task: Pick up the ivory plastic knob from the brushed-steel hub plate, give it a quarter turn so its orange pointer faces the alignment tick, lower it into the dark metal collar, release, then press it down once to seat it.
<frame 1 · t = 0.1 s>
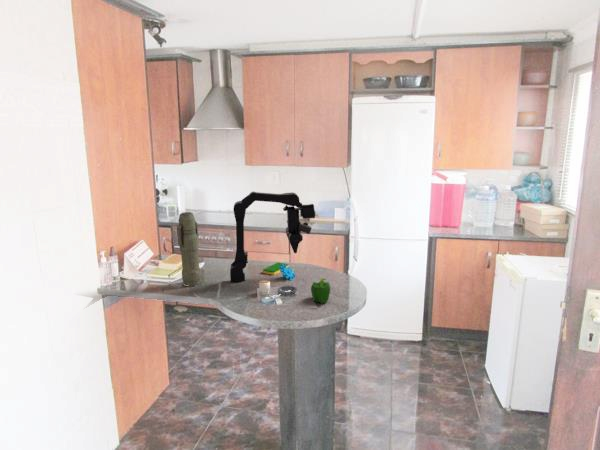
hand: (294, 250, 207), 15 cm above the countertop, tool pointing down, fingers open, 9 cm apart
knob: (265, 293, 189), point 1 cm above the countertop, touching hub plate
bell pepper: (321, 301, 182), on the countertop
gear: (288, 280, 210), on the countertop
dish sponge: (276, 271, 224), on the countertop
hub plate: (277, 294, 190), on the countertop
thermos: (192, 283, 208), on the countertop
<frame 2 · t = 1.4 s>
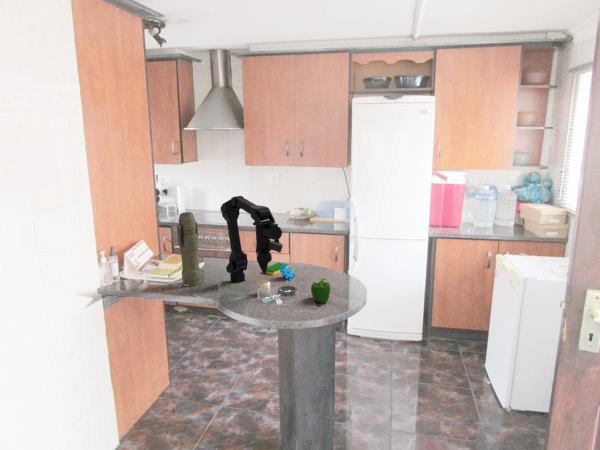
hand: (264, 270, 187), 12 cm above the countertop, tool pointing down, fingers open, 9 cm apart
nothing on the countertop moved.
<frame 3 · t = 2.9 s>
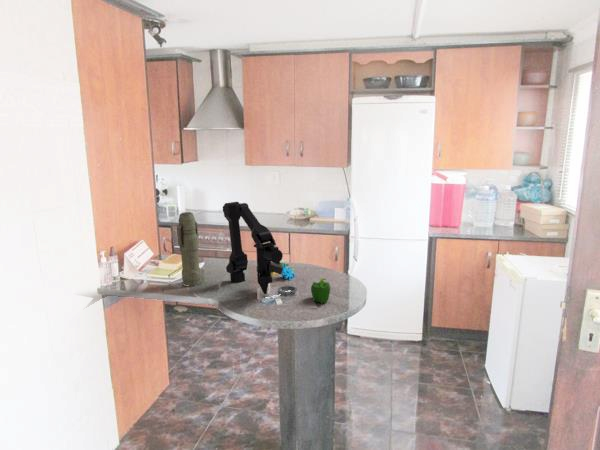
hand: (264, 291, 189), 2 cm above the countertop, tool pointing down, fingers closed on knob, 5 cm apart
knob: (265, 293, 189), point 1 cm above the countertop, touching gripper, hub plate
everything else where it was.
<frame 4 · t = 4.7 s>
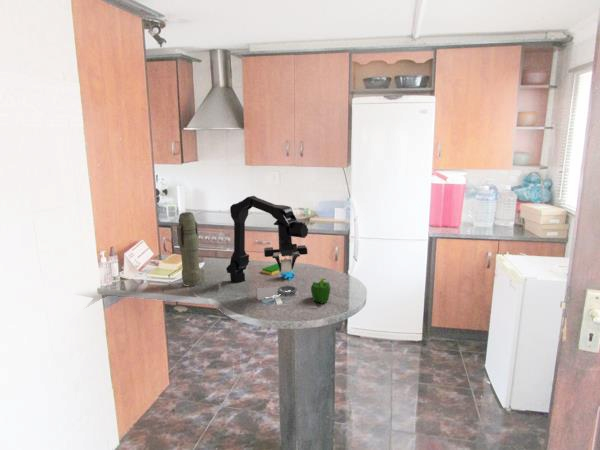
hand: (286, 269, 188), 12 cm above the countertop, tool pointing down, fingers closed on knob, 5 cm apart
knob: (286, 271, 188), point 11 cm above the countertop, touching gripper
everything else where it was.
when the fingers open (3 cm above the countertop, at t = 6.5 s): knob drops 1 cm, resting on hub plate.
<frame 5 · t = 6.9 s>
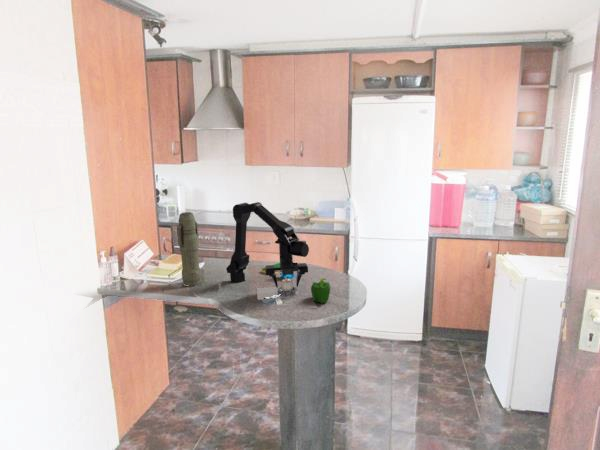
hand: (287, 287, 190), 3 cm above the countertop, tool pointing down, fingers open, 9 cm apart
knob: (287, 291, 190), point 1 cm above the countertop, touching hub plate
everything else where it was.
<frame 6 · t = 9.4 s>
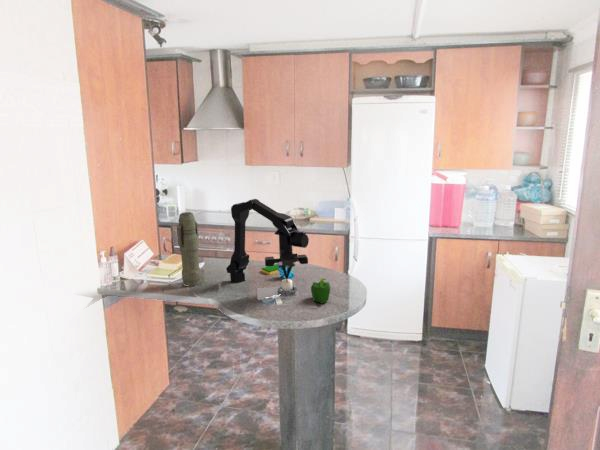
hand: (286, 278, 189), 7 cm above the countertop, tool pointing down, fingers closed
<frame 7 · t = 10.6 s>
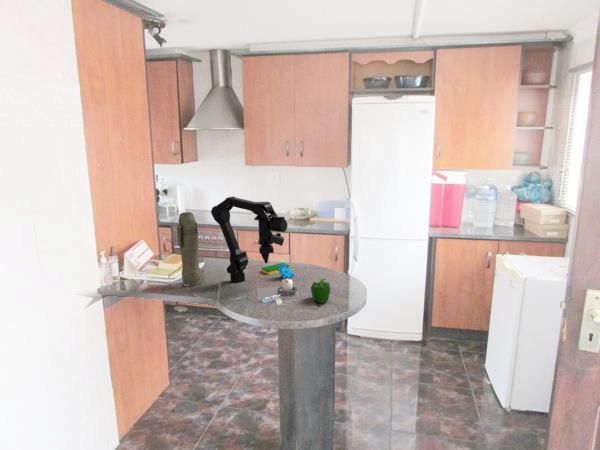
hand: (266, 263, 196), 12 cm above the countertop, tool pointing down, fingers closed
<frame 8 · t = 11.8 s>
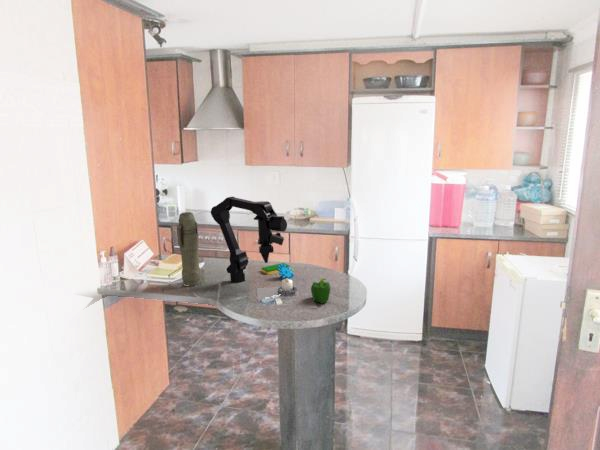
hand: (266, 262, 196), 13 cm above the countertop, tool pointing down, fingers closed
at the end: knob 0.0 cm from the target spot on the hub plate, point 1.3 cm above the hub plate's base; knob tilted 1°; the gripper is holding nothing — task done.
